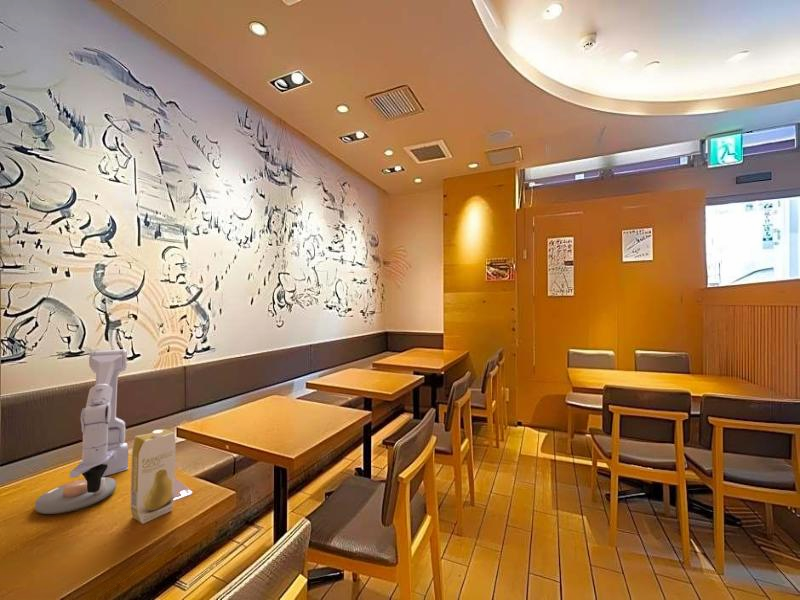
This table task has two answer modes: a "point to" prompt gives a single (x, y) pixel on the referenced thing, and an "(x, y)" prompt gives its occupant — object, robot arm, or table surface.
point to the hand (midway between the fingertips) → (93, 491)
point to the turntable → (72, 498)
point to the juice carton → (152, 475)
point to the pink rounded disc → (75, 488)
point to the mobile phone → (180, 490)
